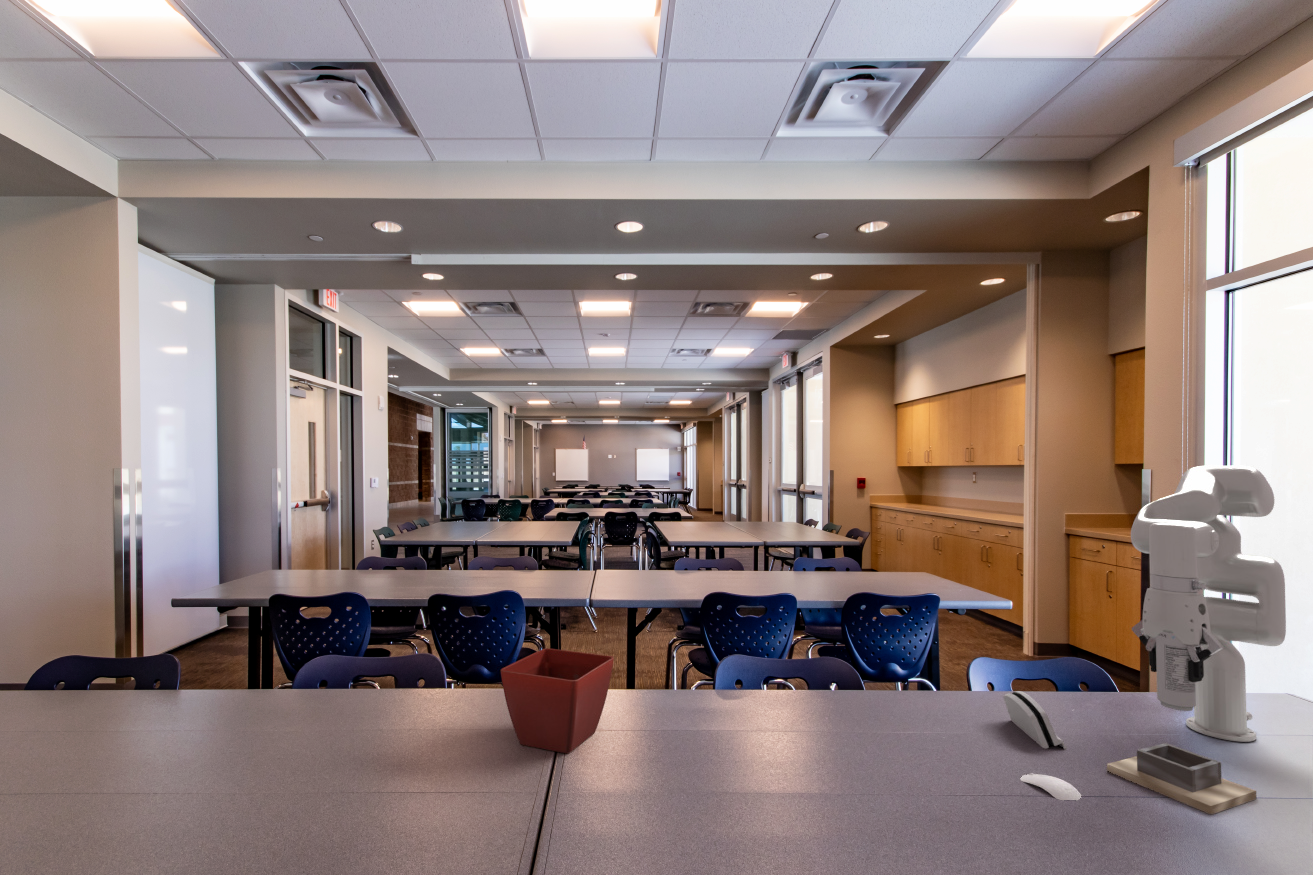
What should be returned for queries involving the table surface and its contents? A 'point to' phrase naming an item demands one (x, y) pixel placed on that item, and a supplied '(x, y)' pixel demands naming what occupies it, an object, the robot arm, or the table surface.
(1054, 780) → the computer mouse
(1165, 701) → the energy drink can
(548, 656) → the plant pot
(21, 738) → the table surface
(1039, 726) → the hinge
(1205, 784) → the socket board
